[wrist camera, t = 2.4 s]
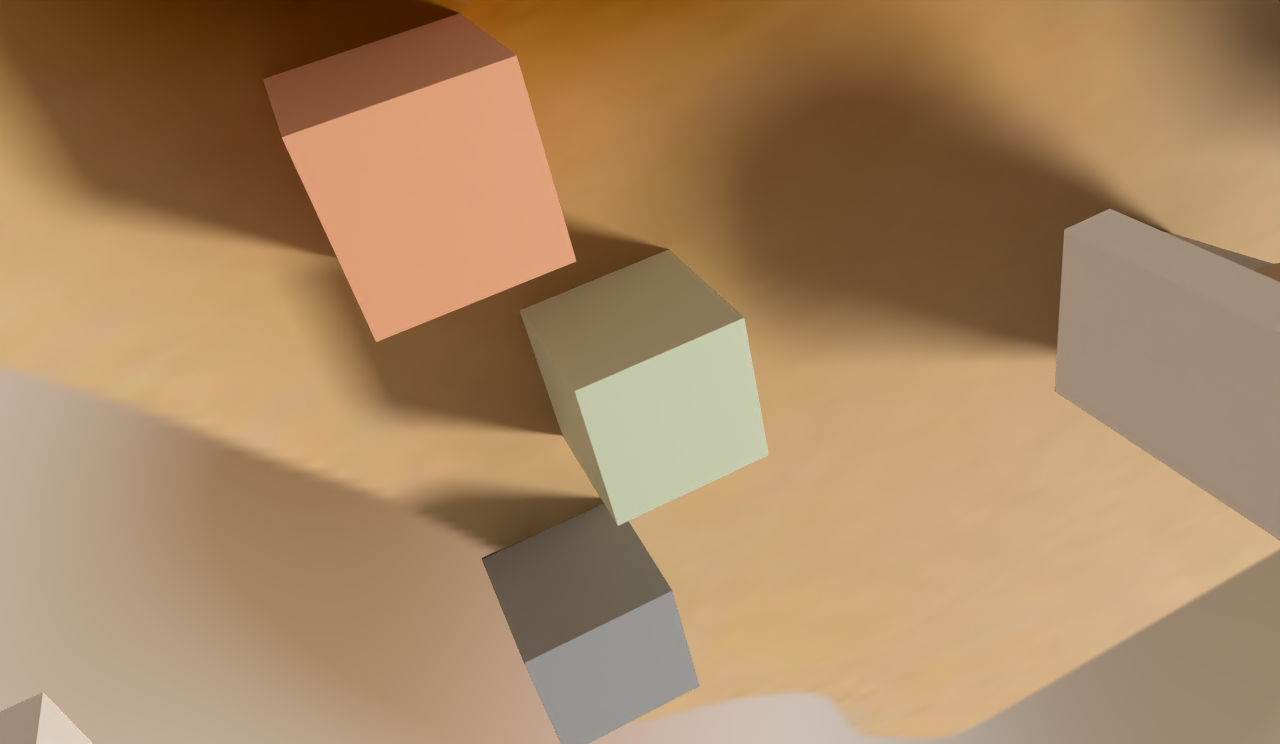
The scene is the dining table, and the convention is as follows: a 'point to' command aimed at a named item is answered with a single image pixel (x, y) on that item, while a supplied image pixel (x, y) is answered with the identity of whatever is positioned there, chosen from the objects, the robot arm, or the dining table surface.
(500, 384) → the dining table surface
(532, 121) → the terracotta cube
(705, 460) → the sage cube
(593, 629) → the slate cube
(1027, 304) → the dining table surface
